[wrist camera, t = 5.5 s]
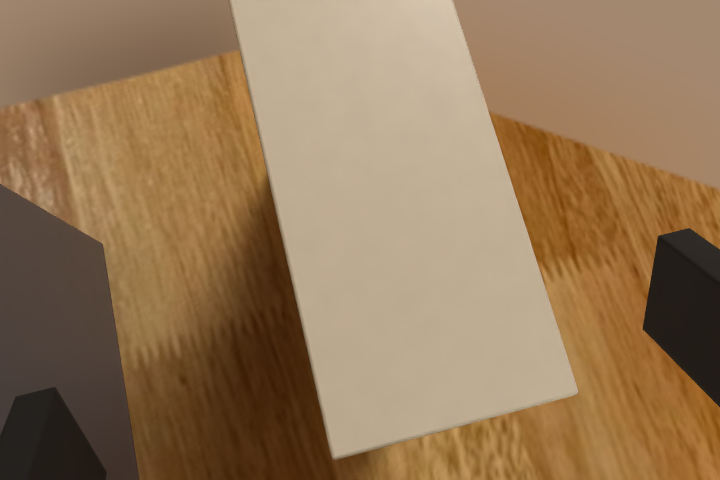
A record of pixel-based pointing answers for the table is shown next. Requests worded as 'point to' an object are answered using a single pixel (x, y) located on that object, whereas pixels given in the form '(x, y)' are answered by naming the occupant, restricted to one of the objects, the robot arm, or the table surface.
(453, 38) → the white book
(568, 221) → the table surface
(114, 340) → the grey book row
